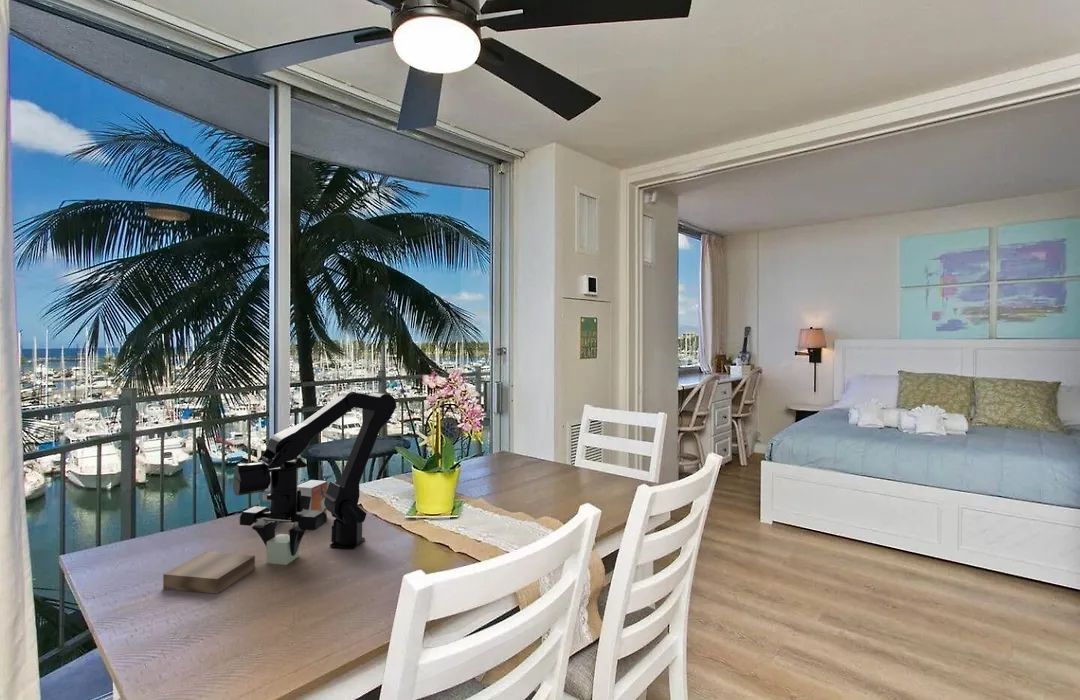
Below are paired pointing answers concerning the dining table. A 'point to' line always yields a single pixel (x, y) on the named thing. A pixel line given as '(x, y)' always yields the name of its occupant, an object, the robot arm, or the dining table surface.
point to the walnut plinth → (209, 572)
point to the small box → (314, 495)
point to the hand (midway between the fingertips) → (283, 554)
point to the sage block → (280, 550)
